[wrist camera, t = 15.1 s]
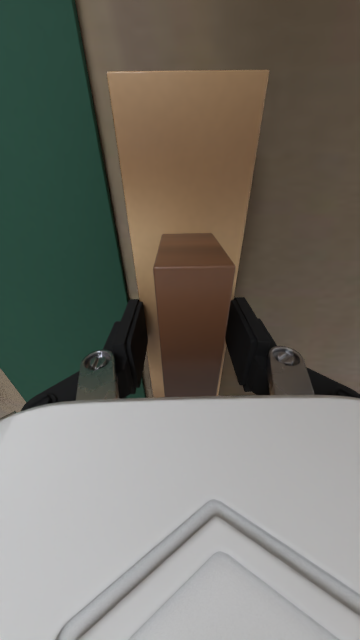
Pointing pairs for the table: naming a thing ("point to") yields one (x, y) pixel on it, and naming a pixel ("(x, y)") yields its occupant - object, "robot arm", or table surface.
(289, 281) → the table surface
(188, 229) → the scrub brush
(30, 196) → the desk mat
